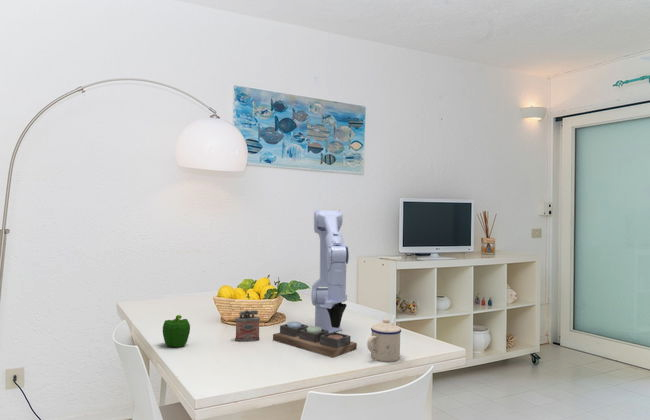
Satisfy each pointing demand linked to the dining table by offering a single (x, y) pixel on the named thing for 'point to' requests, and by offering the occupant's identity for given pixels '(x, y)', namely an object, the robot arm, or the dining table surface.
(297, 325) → the button slate
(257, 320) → the lighter
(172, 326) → the bell pepper
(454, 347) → the dining table surface
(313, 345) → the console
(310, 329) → the button sage
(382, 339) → the teacup with lid
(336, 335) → the button terracotta
